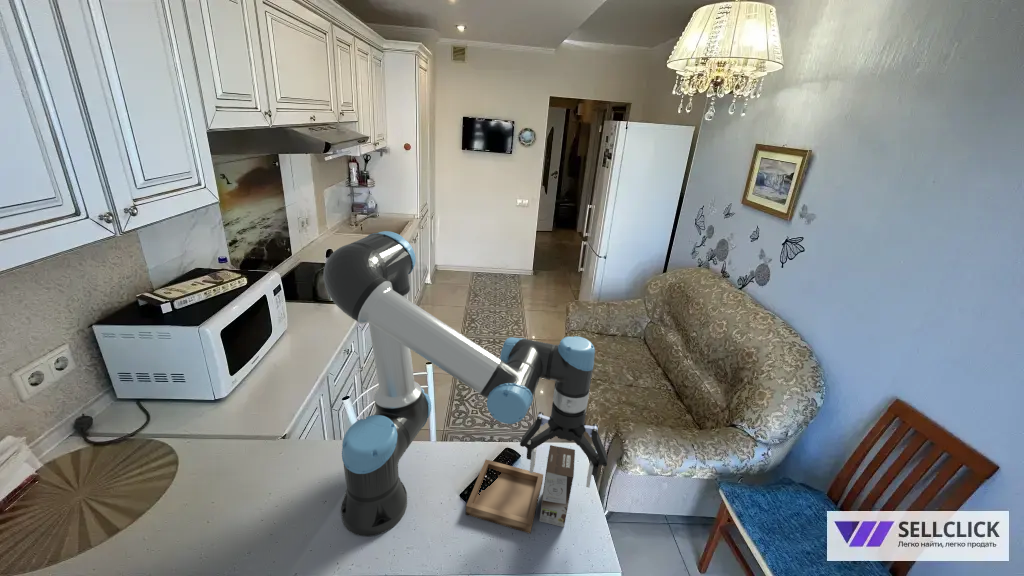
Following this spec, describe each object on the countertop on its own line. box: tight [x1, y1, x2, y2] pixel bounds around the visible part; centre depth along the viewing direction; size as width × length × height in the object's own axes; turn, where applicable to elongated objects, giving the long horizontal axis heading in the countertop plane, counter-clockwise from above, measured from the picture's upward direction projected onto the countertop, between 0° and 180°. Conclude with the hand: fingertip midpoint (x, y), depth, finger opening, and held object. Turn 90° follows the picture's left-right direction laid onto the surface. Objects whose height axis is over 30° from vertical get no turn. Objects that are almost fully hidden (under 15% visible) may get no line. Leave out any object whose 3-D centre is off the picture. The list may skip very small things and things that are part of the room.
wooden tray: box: [465, 459, 544, 534], centre depth 103 cm, size 16×15×3 cm
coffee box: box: [538, 444, 576, 528], centre depth 99 cm, size 9×6×16 cm
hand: (559, 475), depth 97 cm, fingers open, 13 cm apart
